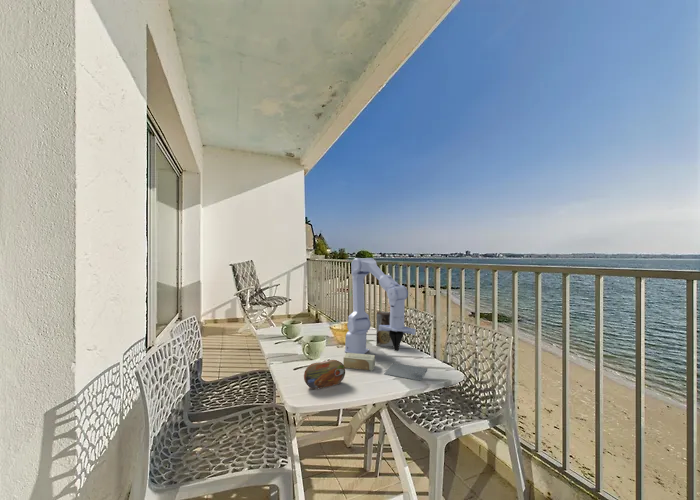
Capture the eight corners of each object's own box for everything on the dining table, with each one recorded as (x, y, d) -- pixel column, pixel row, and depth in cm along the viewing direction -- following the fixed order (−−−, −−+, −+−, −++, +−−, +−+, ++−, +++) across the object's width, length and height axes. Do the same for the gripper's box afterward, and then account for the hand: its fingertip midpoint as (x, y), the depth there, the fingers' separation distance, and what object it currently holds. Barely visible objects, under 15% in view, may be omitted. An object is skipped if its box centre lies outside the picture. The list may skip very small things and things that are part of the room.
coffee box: (394, 343, 163) (394, 311, 163) (394, 347, 157) (395, 314, 156) (376, 342, 164) (376, 311, 164) (375, 346, 158) (376, 313, 157)
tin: (305, 391, 107) (306, 366, 107) (302, 387, 110) (303, 363, 110) (345, 383, 114) (346, 359, 114) (341, 380, 117) (342, 357, 117)
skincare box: (375, 365, 132) (346, 362, 135) (375, 354, 132) (346, 352, 134) (372, 371, 125) (342, 368, 128) (372, 360, 125) (342, 357, 128)
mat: (384, 374, 122) (384, 373, 122) (393, 363, 134) (393, 362, 134) (420, 381, 117) (420, 380, 117) (426, 368, 129) (427, 368, 129)
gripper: (376, 316, 126) (376, 350, 126) (413, 320, 120) (412, 355, 121) (382, 313, 133) (381, 345, 133) (416, 316, 127) (416, 350, 127)
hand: (396, 350), depth 127 cm, fingers closed
